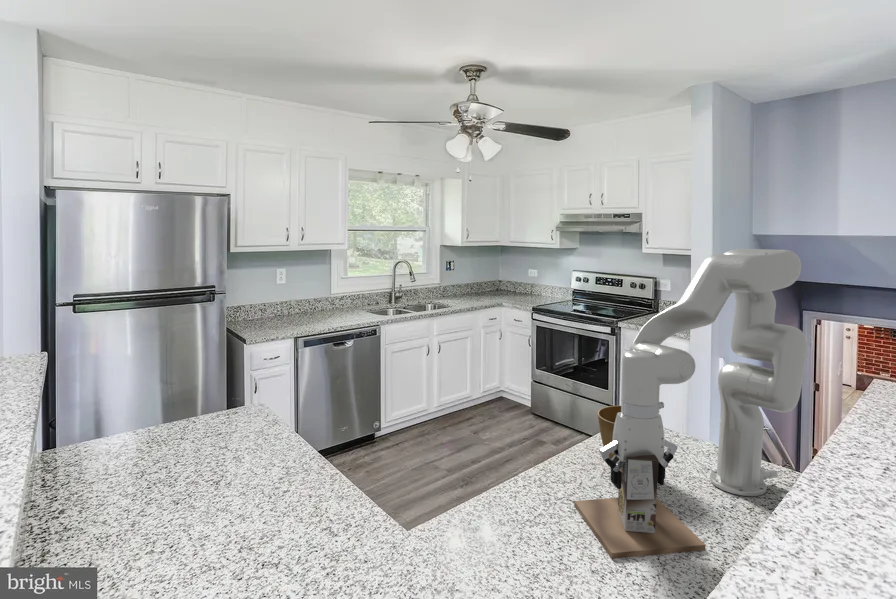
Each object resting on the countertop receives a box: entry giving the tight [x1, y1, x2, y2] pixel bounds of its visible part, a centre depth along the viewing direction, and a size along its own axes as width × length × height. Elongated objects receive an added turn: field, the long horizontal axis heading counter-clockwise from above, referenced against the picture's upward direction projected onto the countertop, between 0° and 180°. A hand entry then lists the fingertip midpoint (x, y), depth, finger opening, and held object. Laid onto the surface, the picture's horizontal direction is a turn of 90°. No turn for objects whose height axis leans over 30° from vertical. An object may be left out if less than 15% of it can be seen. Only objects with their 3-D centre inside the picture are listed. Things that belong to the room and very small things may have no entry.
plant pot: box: [597, 405, 621, 469], centre depth 136 cm, size 15×15×16 cm
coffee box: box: [617, 455, 659, 533], centre depth 110 cm, size 9×6×16 cm
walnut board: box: [573, 497, 707, 560], centre depth 111 cm, size 20×20×1 cm
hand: (637, 484), depth 110 cm, fingers open, 9 cm apart
